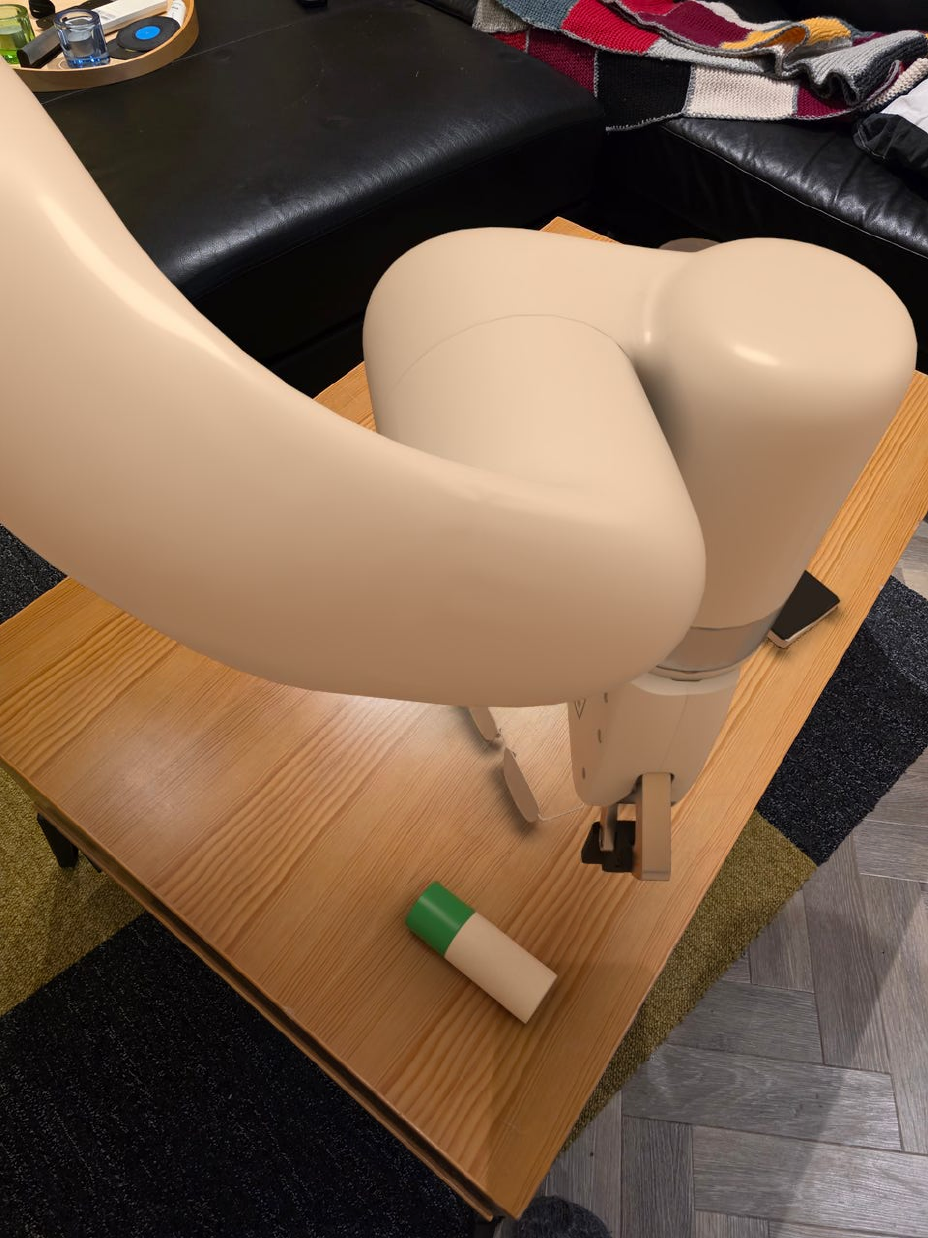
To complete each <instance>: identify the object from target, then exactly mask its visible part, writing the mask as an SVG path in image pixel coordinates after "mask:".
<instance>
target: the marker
mask: <svg viewBox="0 0 928 1238" xmlns="http://www.w3.org/2000/svg"><path fill="white" fill-rule="evenodd" d="M404 926H405V927H406V928H407V929H409V930H410V931H411V932H412V933H413V934H414V935H416V936H417V937H418V938H420V940H422V941H423V942H424V943H426V944H427V945H428V946H429V947H430V948H432V950H435V952H436V953H438V954H439V955H440V956H442V957H443V958H444V959H445V960H446V961H448V962H449V963H450V964H451V965H452V966H454V967H455V968H456V969H457V970H459V972H461V973H462V974H463V975H465V976H466V977H467V978H468V979H469V980H470V981H472V982H473V983H475V984H476V985H477V986H478V987H480V988H481V989H482V990H483V991H485V993H487V994H488V995H489V996H490V997H492V998H493V999H494V1000H495V1001H496V1002H497V1003H498V1004H499V1005H501V1006H502V1007H504V1008H505V1009H506V1010H507V1011H509V1012H510V1013H511V1014H512V1015H514V1016H515V1017H516V1018H518V1019H519V1020H520V1022H522V1023H523V1024H524V1025H526V1024H527V1023H528V1022H529V1020H530V1018H531V1017H532V1016H533V1015H534V1013H535V1011H536V1010H537V1009H538V1007H539V1006H540V1004H541V1003H542V1002H543V1000H544V998H545V997H546V995H547V993H548V992H549V991H550V989H551V987H553V984H554V983H555V982H556V980H557V978H558V975H557V974H556V973H555V972H554V971H553V970H551V969H550V968H549V967H548V966H546V965H545V964H544V963H542V962H541V961H540V960H539V959H537V958H536V957H535V956H534V955H532V954H531V953H530V952H529V951H527V950H526V949H525V948H523V947H522V946H521V945H519V944H518V943H517V942H516V941H515V940H513V939H512V938H511V937H509V936H508V935H507V934H506V933H504V932H503V931H501V929H499V928H498V927H497V926H496V925H494V924H493V923H492V922H490V921H489V920H488V919H487V918H485V917H484V916H482V915H481V914H480V913H479V912H478V911H476V910H475V909H474V908H473V907H471V905H469V904H468V903H466V902H465V901H464V900H462V899H461V898H460V897H458V896H457V895H456V894H455V893H454V892H452V891H451V890H450V889H448V888H447V887H445V885H443V884H442V883H441V882H439V881H437V880H436V881H434V882H432V883H431V884H430V885H429V886H428V887H426V889H425V890H424V891H423V892H422V894H421V895H420V896H419V897H418V899H417V900H416V901H415V902H414V904H413V905H412V907H411V908H410V910H409V912H408V914H407V916H406V917H405V920H404Z"/></svg>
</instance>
